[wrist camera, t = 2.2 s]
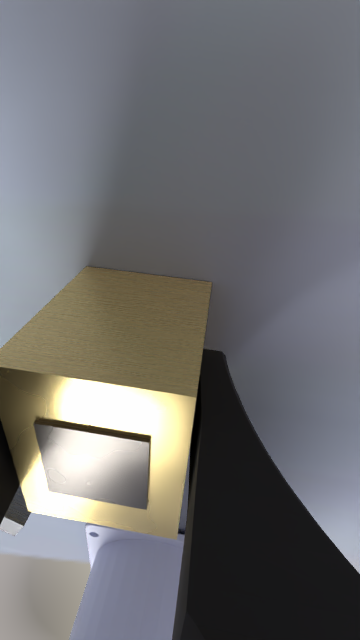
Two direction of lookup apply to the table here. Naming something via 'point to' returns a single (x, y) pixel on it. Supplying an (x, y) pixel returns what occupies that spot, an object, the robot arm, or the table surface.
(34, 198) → the table surface
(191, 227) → the table surface
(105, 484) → the brass cube with recess
